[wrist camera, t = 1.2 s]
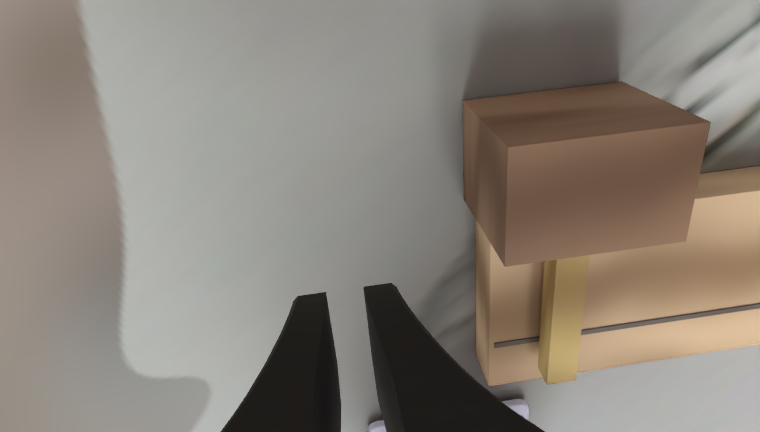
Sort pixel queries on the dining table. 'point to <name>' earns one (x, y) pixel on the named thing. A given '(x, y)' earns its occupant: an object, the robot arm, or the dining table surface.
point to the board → (637, 292)
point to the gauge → (578, 189)
